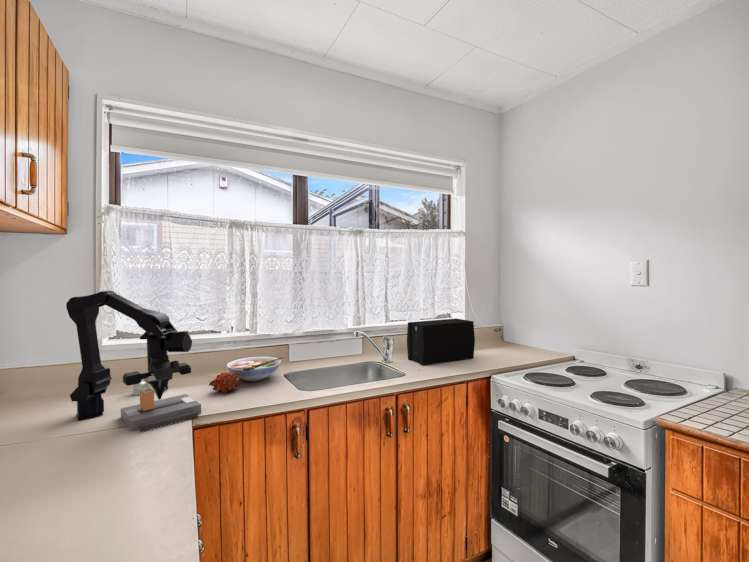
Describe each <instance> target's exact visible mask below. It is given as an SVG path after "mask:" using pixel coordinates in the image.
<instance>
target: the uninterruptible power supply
mask: <svg viewBox="0 0 749 562" xmlns="http://www.w3.org/2000/svg"><path fill="white" fill-rule="evenodd" d="M474 322H475V321H473V320H467V319H462V318H447V319H446V318H444V319H436V320H435V319H432V320H424V321H423V320H422V321H419V320H418V321H409V322H407V330H406V331H407V332H406V347H407V348H406V351H407V360H408V361H412V362H415V363H417V364H419V365H420V366H421V367H425V366H430V365H431V366H432V365H438V364H445V363H451V362H452V363H453V362H458V361H459V362H460V361H466V360H472V359H474V358H475V357H474V356H475V347H476V346H475V343H476V336H475V325H474V324H475V323H474Z"/></svg>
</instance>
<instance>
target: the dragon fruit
mask: <svg viewBox="0 0 749 562" xmlns="http://www.w3.org/2000/svg"><path fill="white" fill-rule="evenodd" d="M241 382H242V379H241V378H240V376H238V374H236V373H235V374H234V373H233V372H231V371H230V370H229V371H228V372H225V371H224V372H223V371H222V372H221V373H220V374H217V375H216V378H214V379H213V380H212V381H210V382H209V384H208V386H211V387H212V390H213V391H215V392H220V391H223V393H224V394H226V393H228V392H230V391H231V392H233V391H234V389H236V388H239V387H240V386H241Z"/></svg>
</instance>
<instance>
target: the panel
mask: <svg viewBox="0 0 749 562" xmlns="http://www.w3.org/2000/svg"><path fill="white" fill-rule="evenodd" d="M194 411H197V412H198V415H200V414H202V404H201V403H200V402H199V401H197V400H196V399H194V398H193V397H192V396H190V395H189V394H187V393H184V394H180V395H176V396H175V395H174V396H171V397H167V398H161V399H160V400H159V399H158V400H154V409H150V410H145V411H143V410H142V409H141V408H140V403H138V404H135V405H130V406H126V407H121V408H120V419H121V420H122V421H123V422H124V424H125V425H126V426H127V428H128V430H129V431H130V430H131V431H132V432H135V431H134V430H136V431H140V425H143V424H147V423H151V422H155V421H159V420H163V419H167V418H171V417H175V416H179V415H182V414H186V413H190V412H194ZM199 413H200V414H199Z"/></svg>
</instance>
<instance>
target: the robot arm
mask: <svg viewBox="0 0 749 562" xmlns="http://www.w3.org/2000/svg"><path fill="white" fill-rule="evenodd" d="M104 306H107V307H109V308H110V309H113V310H114V311H117V312H118V313H120V314H122V315H124V316H126V317H128V318H130V319H132V320H134V321H135V322H136V324H137V326H138V327H139V328H141V329H142V330H143V331H145V332H143V334H142V335H141V336H140V337H139V339H140V340H146V360H147V372H146V371H145V372H143V373H140V372H139V371H138V370H136V371H132V372H131V371H130V372H125V373H124V374H123V375H122V382H123V384H124V385H126V386H132V385H134V384H139V383H140V382H141V381H142V379H144V382H147V383H148V384H151V386H150V387H152V390H153V391H154V394H155V396H156V398H157V399H158V400H161V399H162V396H163V394H164V390H165V386H166V384H167V382H168V383H169V381H170V380H173V378H174V377H173V374H176V373H178V374H180V375H182V376H183V375H189V374H191V373H192V367H191V365H190V364H189V363H186V362H180V361H179V360H172V361H170V357H169V355H168V353H188V352H189V351H191V348H192V345H193V339H192V337H191V336H190V334H189V331H188V330H182V331H177V329H176V327H175V326H174V325H173V323H172V322H171V320H170V317H169V316H168V315H167V314H166V313H164V312H160V311H158V310H157V311H156V310H152V309H149V308H148V309H147V308H146V307H145V308H144V307H143V306H141V305H139V304H137V303H135V302H133V301H131V300H129V299H127V298H125V297H124V296H122V295H119V294H118V293H116V292H115V291H114V290H102V291H98V292H96V293H93V294H89V295H84V296H83V295H82V296H81V295H80V296H73V297H70V298H69V299H68V301H66V305H65V308H66V311H67V314H68V316H69V318H70V319H71V320H72V321H73V323H74V324H75V325H76V332H77V337H78V338H77V339H78V347H79V351H80V352H79V354H80V359H81V365H82V367H81V370H80V373H79V376H78V378H77V379H78V380H77V381H78V382H77V386H76V388H74V390H73V391H72V392H71V393H70V394H69V398H70V400H71V402H76V413H75V416H76V418H77V420H78V421H82V420H86V419H92V418H96V417H100V416H103V415H104V412H105V405H104V404H105V403H104V402H105V401H104V398H103V397H102V395H103V394H105V393H106V392H107V389H108V387H109V386H110V385H111V380H112V379H113V378H112V376H111V369H110V367H107V368H105V367H104V365H103V363H102V360H101V355H100V346H99V341H98V340H99V339H98V332H97V328H96V321H97V318H98V316H99V314H100V308H101V307H104ZM179 362H180V363H179Z"/></svg>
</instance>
